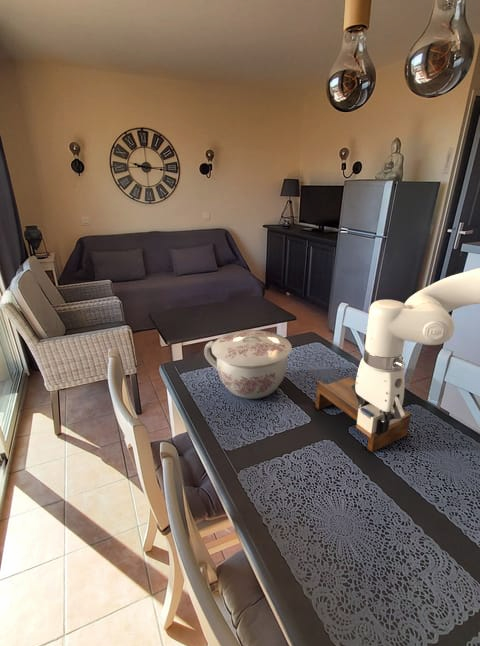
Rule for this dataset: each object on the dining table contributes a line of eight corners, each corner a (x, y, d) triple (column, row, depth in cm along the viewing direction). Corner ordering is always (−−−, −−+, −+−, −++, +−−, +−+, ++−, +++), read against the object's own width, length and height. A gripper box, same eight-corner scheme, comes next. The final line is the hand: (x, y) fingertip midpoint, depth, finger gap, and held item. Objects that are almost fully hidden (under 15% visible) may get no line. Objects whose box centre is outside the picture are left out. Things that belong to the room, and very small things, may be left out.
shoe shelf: (347, 395, 124) (350, 370, 120) (407, 435, 104) (412, 407, 100) (315, 407, 118) (317, 381, 114) (371, 452, 98) (376, 423, 94)
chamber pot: (306, 393, 125) (309, 339, 117) (239, 420, 112) (237, 362, 104) (260, 361, 147) (260, 314, 139) (200, 381, 134) (196, 330, 126)
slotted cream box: (385, 414, 90) (388, 394, 87) (400, 423, 86) (404, 403, 84) (356, 427, 85) (358, 407, 83) (370, 438, 82) (373, 417, 79)
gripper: (429, 369, 72) (414, 441, 79) (364, 339, 86) (357, 403, 93) (403, 379, 69) (391, 454, 76) (341, 347, 82) (335, 412, 90)
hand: (372, 425), depth 84 cm, fingers closed on slotted cream box, 4 cm apart
